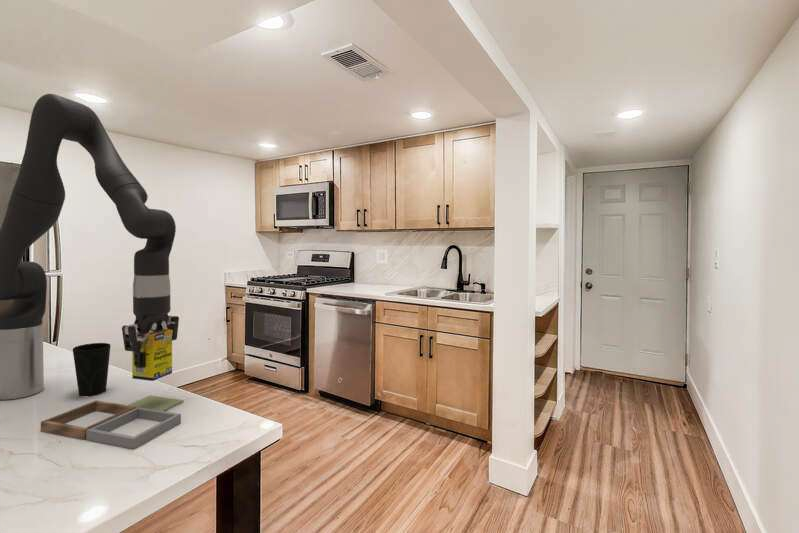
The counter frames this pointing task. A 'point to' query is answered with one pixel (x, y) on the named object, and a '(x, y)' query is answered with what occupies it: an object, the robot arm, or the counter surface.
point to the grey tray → (132, 442)
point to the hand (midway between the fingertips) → (152, 363)
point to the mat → (156, 403)
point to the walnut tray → (57, 422)
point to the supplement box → (155, 356)
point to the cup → (91, 368)
